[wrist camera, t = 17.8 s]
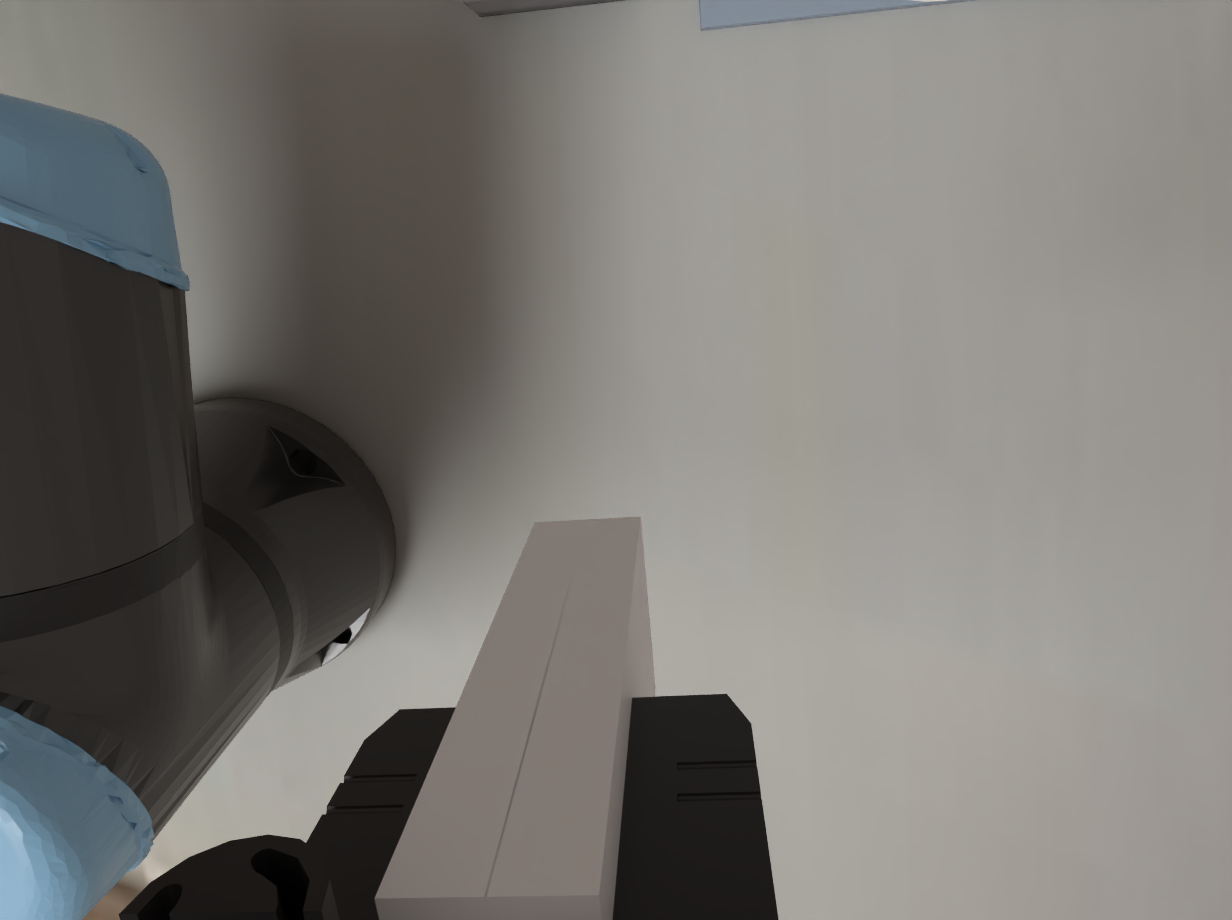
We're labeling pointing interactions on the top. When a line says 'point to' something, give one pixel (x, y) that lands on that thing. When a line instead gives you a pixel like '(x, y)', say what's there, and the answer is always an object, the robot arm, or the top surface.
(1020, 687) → the top surface
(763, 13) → the slate board
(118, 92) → the top surface
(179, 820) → the top surface
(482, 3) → the button housing
